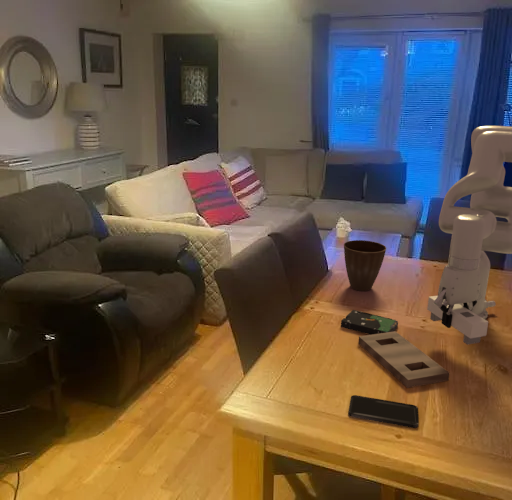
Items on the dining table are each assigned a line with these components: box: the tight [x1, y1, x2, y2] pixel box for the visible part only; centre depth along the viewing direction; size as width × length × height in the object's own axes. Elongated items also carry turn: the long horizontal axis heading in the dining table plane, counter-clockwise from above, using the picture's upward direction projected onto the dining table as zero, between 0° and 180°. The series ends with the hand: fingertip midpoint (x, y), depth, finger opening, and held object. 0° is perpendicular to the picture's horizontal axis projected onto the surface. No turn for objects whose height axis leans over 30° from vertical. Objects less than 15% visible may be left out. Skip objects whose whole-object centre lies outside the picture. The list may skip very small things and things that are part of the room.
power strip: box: [426, 294, 489, 345], centre depth 140 cm, size 5×18×7 cm, turn 18°
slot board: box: [358, 330, 450, 389], centre depth 137 cm, size 24×12×2 cm, turn 18°
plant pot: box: [343, 239, 387, 292], centre depth 187 cm, size 15×15×16 cm
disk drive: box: [340, 309, 399, 335], centre depth 157 cm, size 10×3×15 cm
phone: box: [347, 394, 420, 429], centre depth 115 cm, size 8×1×15 cm
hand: (454, 323), depth 141 cm, fingers closed on power strip, 5 cm apart
